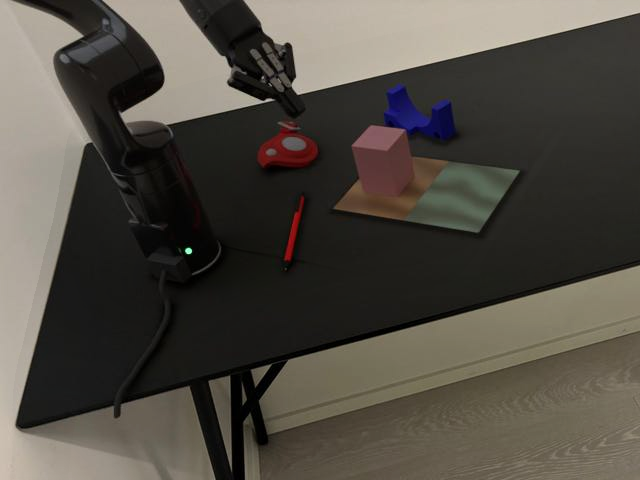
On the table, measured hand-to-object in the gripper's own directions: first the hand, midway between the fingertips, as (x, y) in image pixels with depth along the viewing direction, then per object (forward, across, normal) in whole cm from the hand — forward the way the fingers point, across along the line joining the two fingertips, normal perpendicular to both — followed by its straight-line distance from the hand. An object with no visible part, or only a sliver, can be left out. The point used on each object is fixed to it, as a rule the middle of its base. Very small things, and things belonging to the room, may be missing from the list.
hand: (299, 114), depth 124 cm
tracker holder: (+3, -7, -15) cm, 17 cm away
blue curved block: (+13, -20, -1) cm, 24 cm away
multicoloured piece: (+20, -5, +7) cm, 22 cm away
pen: (+13, +11, -5) cm, 17 cm away
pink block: (+16, -4, +2) cm, 16 cm away
